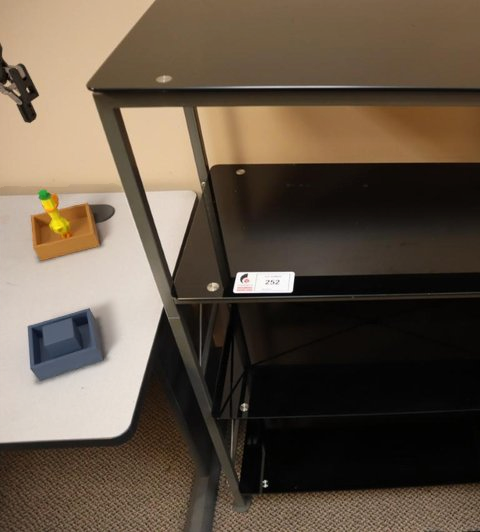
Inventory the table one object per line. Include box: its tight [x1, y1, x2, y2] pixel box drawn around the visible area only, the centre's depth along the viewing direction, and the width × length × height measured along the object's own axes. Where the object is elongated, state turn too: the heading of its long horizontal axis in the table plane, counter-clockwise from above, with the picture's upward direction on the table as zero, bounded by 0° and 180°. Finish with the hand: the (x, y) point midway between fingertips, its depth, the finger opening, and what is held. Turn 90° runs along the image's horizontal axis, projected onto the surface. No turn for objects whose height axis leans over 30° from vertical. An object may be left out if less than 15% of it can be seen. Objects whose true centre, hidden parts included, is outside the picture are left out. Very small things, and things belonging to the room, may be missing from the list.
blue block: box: [42, 318, 83, 359], centre depth 87 cm, size 4×4×4 cm
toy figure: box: [37, 189, 72, 239], centre depth 103 cm, size 7×4×12 cm, turn 18°
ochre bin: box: [30, 202, 101, 262], centre depth 107 cm, size 11×11×4 cm
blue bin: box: [27, 307, 104, 382], centre depth 88 cm, size 10×10×4 cm
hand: (8, 117), depth 93 cm, fingers open, 8 cm apart
